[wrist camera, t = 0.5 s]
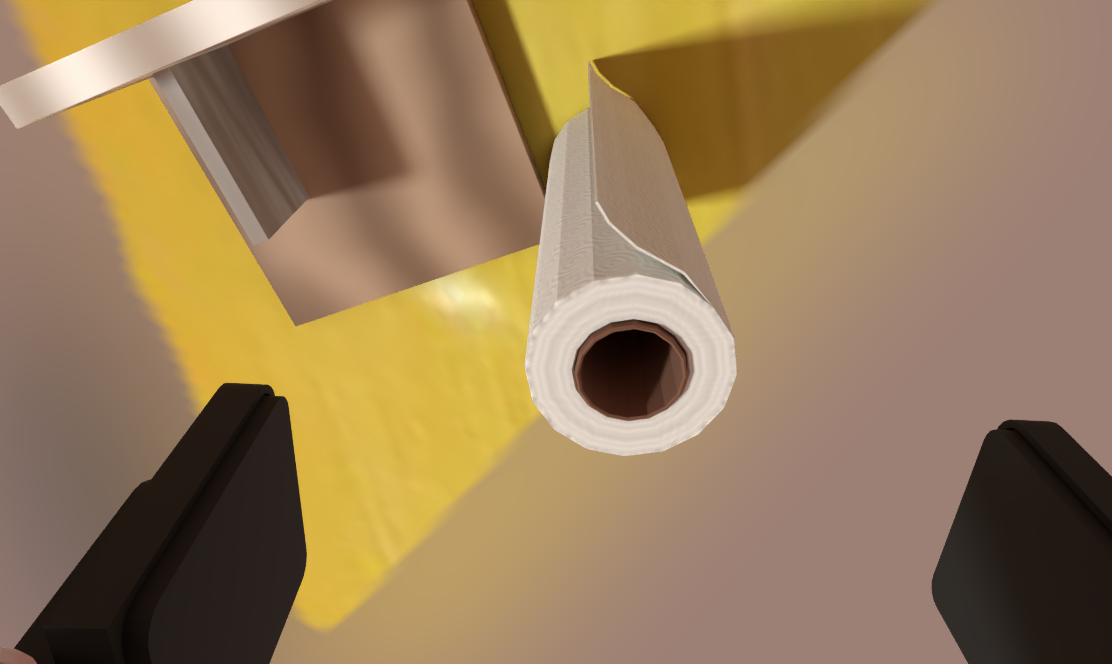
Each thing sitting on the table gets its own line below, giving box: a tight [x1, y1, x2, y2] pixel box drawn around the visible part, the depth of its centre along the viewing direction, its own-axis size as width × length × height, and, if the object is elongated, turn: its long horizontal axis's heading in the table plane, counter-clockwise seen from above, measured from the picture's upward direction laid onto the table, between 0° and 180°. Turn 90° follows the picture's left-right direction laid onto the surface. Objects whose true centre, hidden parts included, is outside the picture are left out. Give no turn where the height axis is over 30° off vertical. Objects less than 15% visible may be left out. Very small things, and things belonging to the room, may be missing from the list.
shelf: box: [0, 0, 546, 326], centre depth 35 cm, size 16×16×12 cm
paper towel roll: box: [525, 62, 737, 456], centre depth 31 cm, size 7×6×21 cm
